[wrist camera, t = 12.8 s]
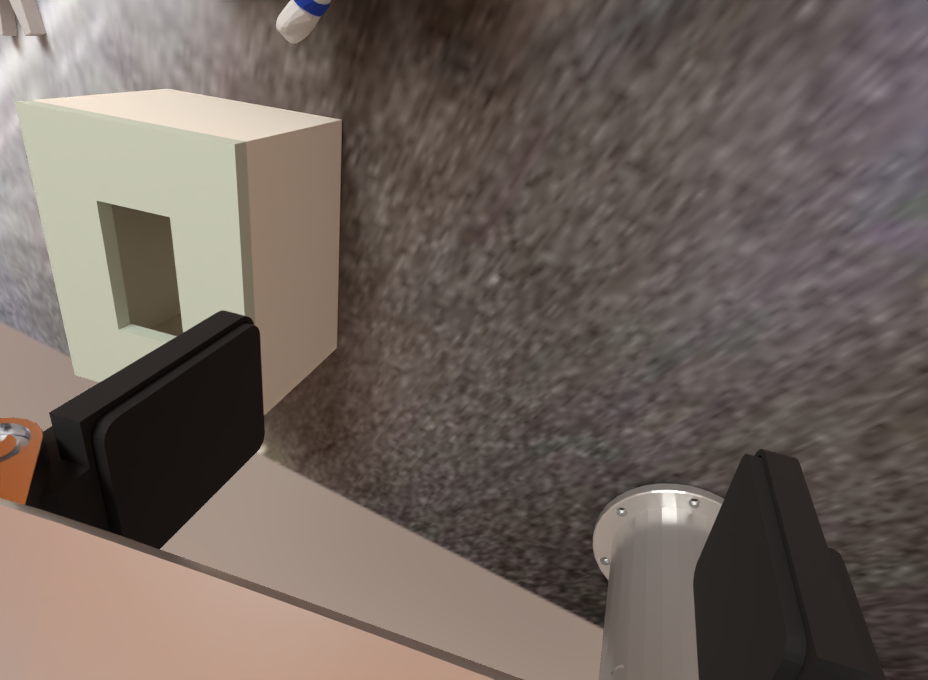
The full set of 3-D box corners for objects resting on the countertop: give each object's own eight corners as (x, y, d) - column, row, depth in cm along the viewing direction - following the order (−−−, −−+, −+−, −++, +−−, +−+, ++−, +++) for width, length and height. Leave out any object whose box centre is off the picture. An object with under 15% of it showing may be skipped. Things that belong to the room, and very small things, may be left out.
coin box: (336, 348, 49) (251, 427, 39) (191, 309, 52) (75, 375, 42) (341, 119, 41) (234, 144, 31) (167, 88, 44) (15, 101, 33)
